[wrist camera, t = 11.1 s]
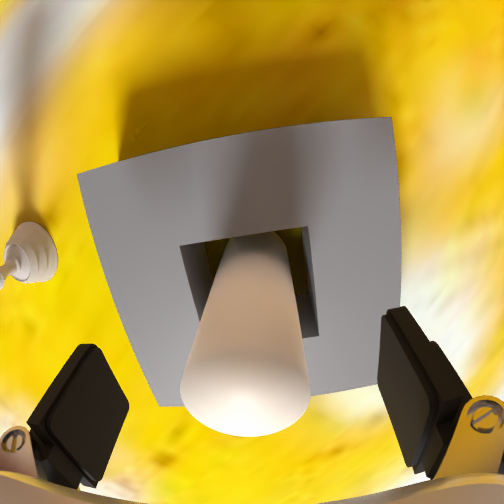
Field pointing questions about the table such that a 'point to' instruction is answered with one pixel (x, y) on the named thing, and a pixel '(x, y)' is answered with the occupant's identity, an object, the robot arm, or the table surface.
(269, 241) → the peg
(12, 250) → the chalice
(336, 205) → the socket block
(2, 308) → the table surface
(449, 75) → the table surface
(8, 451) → the robot arm
